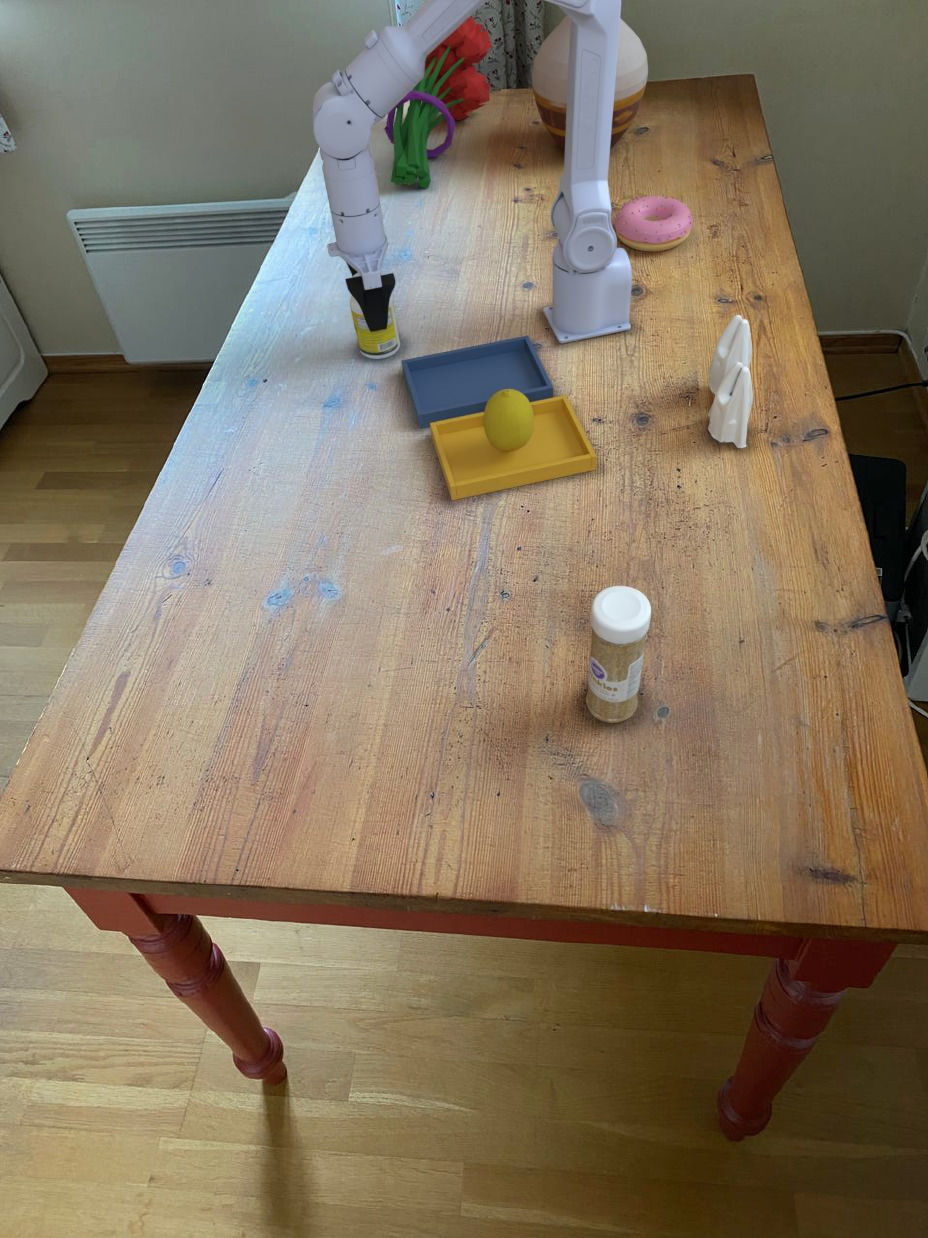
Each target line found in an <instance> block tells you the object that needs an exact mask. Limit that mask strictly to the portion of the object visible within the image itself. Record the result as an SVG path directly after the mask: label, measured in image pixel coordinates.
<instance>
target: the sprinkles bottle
mask: <svg viewBox="0 0 928 1238" xmlns="http://www.w3.org/2000/svg"><path fill="white" fill-rule="evenodd" d="M651 616H652V606H651V603H650V601H649V599H648V598H647V596H646V595H645V594H644V593H643V592H642V591H640V590H638V589H636V588H634V587H632V586H627V585H613V586H609V587H606V588H604V589H602V590H601V591H599V592H598V593H597V594H596V596H594V598H593V599H592V602H591V608H590V618H589V619H590V620H589V621H590V626H591V639H590V643H591V644H590V654H589V659H588V667H587V668H588V669H587V692H586V695H585V703H586V704H585V705H586V707H587V709H588V711H589V712H590V714H591V715H592V716H593V717H594V718H596V719H597V720H598V721H601V722H604V723H609V724H614V723H616V724H617V723H621V722H624V721H627V720H628V719H630V718H631V717H633V715H634V713H635V712H636V710H637V708H638V703H639V702H638V701H639V700H638V693H639V689H640V686H641V685H640V683H641V677H642V671H643V663H644V656H645V649H646V648H645V647H646V636H647V632H648V631H649V629H650V624H651Z"/></svg>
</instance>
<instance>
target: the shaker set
mask: <svg viewBox="0 0 928 1238" xmlns="http://www.w3.org/2000/svg"><path fill="white" fill-rule="evenodd" d="M750 327H751V326H750V323H749V321H748V320H747V319H746V318H743V317H742V315H740V314H736V315H735V316H733V317H732V318H731V319H730V321H729V322H728V323H727V324H726V326H725V328H724V330H723V332H722V334H721V335H720V337H719V339H718V341H717V343H716V346H715V349H714V353H713V358H712V360H711V363H710V365H709V367H708V369H707V372H708V374H709V378H708V382H707V384H708V386H709V388H710V391H711V392H712V394H713V395H714V398H713V401H712V404H711V406H710V409H709V410H708V413H707V416H708V417H709V421H708V427H707V430H708V431H709V433H710V435H711V437H712V438H713V439H715V440H716V441H718V442H719V443H733V444H734V445H735V446H736V448H737V449H744V448H746V447H747V432H748V423H749V419H750V415H751V410H752V406H753V401H754V390H753V382H752V375H751V371H750V364H751V360H752V357H753V344H752V343H753V342H752V334H751V328H750Z"/></svg>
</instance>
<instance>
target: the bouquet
mask: <svg viewBox="0 0 928 1238" xmlns="http://www.w3.org/2000/svg"><path fill="white" fill-rule="evenodd" d="M483 27H484V25H483V24H480V23H476V21H475V19H474V17H473V14H472V15H471V16H470V17H469V18H468V19H467V20H466V21H465V22H464V23H463V24H461V25H460V26H459V27H458V28H457V29H456V30H455V31H454V32H453V33H452V34H450V35H449V36H448V37H447V38H446V39H445V40H444V41H443V42H442V43H441V44H440V45H438V46H437V47H436V48H435V49H434V50H433V51H432V52H431V53H430V54H429V55H427V57H426V59H425V74H424V78H423V79H422V80H421V81H420V82H419V83H418V84H417V85H416V86H415V87H414V88H413V89H412V90H411V91H410V92H409V93H408V94H407V95H406V96H405V97H404V98H403V99H402V100H401V101H400V102H399V103H398V104H397V105H396V106H395V107H394V108H393V109H392V110H391V111H390V112H389V113H388V114H387V115H386V122H385V123H386V124H385V125H386V126H385V127H384V132H385V134H386V136H387V138H388V140H389V142H390V143H391V144H393V156H394V157H393V165H392V172H391V177H390V182H392V183H393V184H395V185H403V184H404V185H406V186H407V185H408V186H411V185H413V184H415V183H416V180H417V181H418V184H419V186H420V188H423V189H424V188H425V189H429V187H430V185H431V181H432V179H431V173H430V167H429V161H428V158H429V159H430V158H433V157H437V156H439V155H441V154H442V153H445V152H446V150H447V149H449V147H450V146H452V144H453V137H454V131H455V127H456V126H455V125H456V121H461V120H464V119H466V118H468V117H470V113H473V112H474V111H476V110H479V109H480V108H481V107H483V106H487V104H486V103H488V102H489V101H490V88H491V82H486V80H487V79H488V77H487V76H485V75H483V74H481V73H479V72H478V71H477V70H476V64H479V63H480V62H482V60H484V58H485V57H486V56H487V55H488V54H489V52H491V51H492V50H490V49H491V48H492V47H493V45H492V42H491V39H490V35H489V30H488V28H485V29H484V30H482V29H483ZM473 64H475V65H473ZM408 102H409V105H408V107H407V112H406V114H405V117H403V116H404V106H405V104H406V103H408ZM403 118H404V120H403ZM444 118H445V119H446V133H447V134H446V136H445V139H444V142H442V143H441V144H439V145H438V146H436V147H435V148H433V149H429V148H428V149H427V145H428V139H429V136H430V133H431V132H432V130H433V129H435V127H437V126H438V124H439V123H441V121H442V120H443V119H444Z"/></svg>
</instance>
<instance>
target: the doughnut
mask: <svg viewBox="0 0 928 1238" xmlns="http://www.w3.org/2000/svg"><path fill="white" fill-rule="evenodd" d="M613 222H614V223H613V225H614V231H615V234H616V237H617V239H619V240H620V242H621V243H623V244H624V245H625V246H626V247H629V248H631V249H633V250H638V251H641V252H662V251H663V252H664V251H666V250H670V249H673V248H675V247H678V246H680V245H681V244H682V243H683V242H685V240H686V239H687V238H688V237H689V235H690V233H691V230H692V229H693V226H694V216H693V213H692V212H691V211H690V209H689V208H688V206H687V205H686V204H685V203H683V201H680V200H678V199H676V198H674V197H673V196H672V197H670V196H669V197H668V196H665V195H664V194H663V195H649V196H648V195H646V196H641V197H637V198H634V199H630V200H629V201H628V202H626V203H625V204H624V205H623V206H621V208H620V209H619V210H618V212H617V214H615V218H614V221H613Z"/></svg>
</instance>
